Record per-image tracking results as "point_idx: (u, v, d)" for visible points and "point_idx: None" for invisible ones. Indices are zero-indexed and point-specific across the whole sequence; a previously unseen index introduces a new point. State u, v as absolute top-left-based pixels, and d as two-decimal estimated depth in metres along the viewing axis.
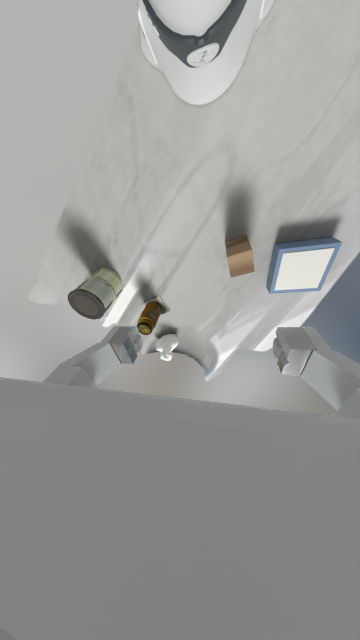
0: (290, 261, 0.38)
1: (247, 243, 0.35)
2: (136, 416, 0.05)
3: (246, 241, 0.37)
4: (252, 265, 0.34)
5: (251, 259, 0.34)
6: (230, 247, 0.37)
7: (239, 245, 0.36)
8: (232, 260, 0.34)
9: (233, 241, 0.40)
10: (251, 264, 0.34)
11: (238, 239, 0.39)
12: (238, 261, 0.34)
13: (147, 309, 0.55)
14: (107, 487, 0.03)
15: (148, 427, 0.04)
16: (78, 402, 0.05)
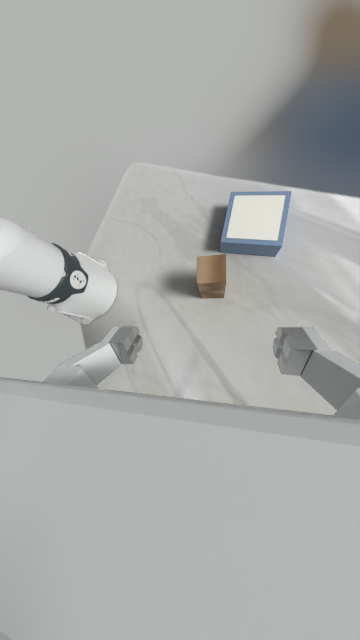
0: (237, 229, 0.34)
1: None
2: (136, 416, 0.05)
3: None
4: (216, 256, 0.28)
5: (208, 257, 0.28)
6: None
7: None
8: (202, 277, 0.28)
9: None
10: (214, 257, 0.28)
11: None
12: (206, 271, 0.28)
13: None
14: (107, 487, 0.03)
15: (148, 427, 0.04)
16: (77, 402, 0.05)
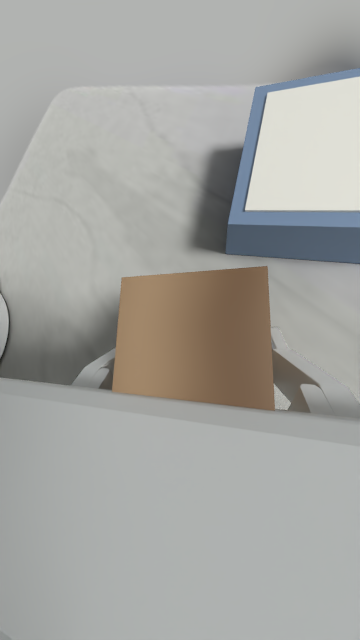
0: (282, 183, 0.11)
1: None
2: (136, 416, 0.05)
3: None
4: (215, 277, 0.05)
5: (173, 282, 0.05)
6: None
7: None
8: (141, 393, 0.05)
9: None
10: (203, 284, 0.05)
11: None
12: (158, 358, 0.05)
13: None
14: (107, 487, 0.03)
15: (148, 427, 0.04)
16: (77, 402, 0.05)
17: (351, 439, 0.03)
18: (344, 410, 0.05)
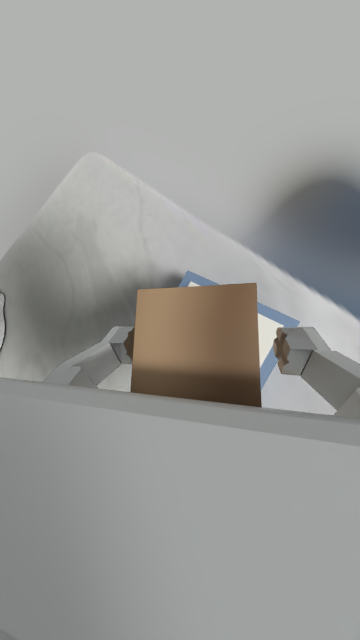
0: None
1: None
2: (136, 416, 0.05)
3: None
4: (214, 290, 0.06)
5: (181, 294, 0.07)
6: None
7: None
8: (155, 384, 0.06)
9: None
10: (205, 296, 0.06)
11: None
12: (169, 356, 0.06)
13: None
14: (107, 487, 0.03)
15: (148, 427, 0.04)
16: (78, 402, 0.05)
17: (351, 439, 0.03)
18: None
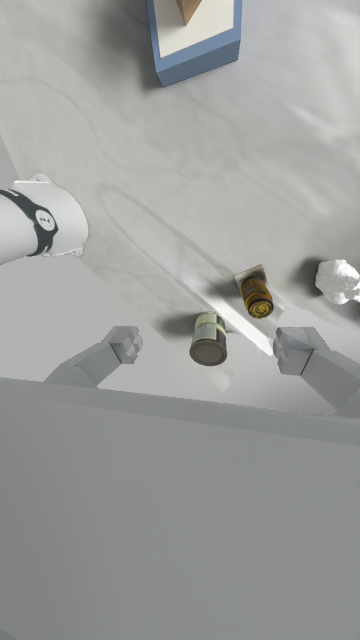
0: (172, 25, 0.21)
1: None
2: (136, 416, 0.05)
3: None
4: None
5: None
6: None
7: None
8: None
9: None
10: None
11: None
12: None
13: (242, 295, 0.42)
14: (107, 487, 0.03)
15: (148, 427, 0.04)
16: (77, 403, 0.05)
17: (351, 439, 0.03)
18: None
